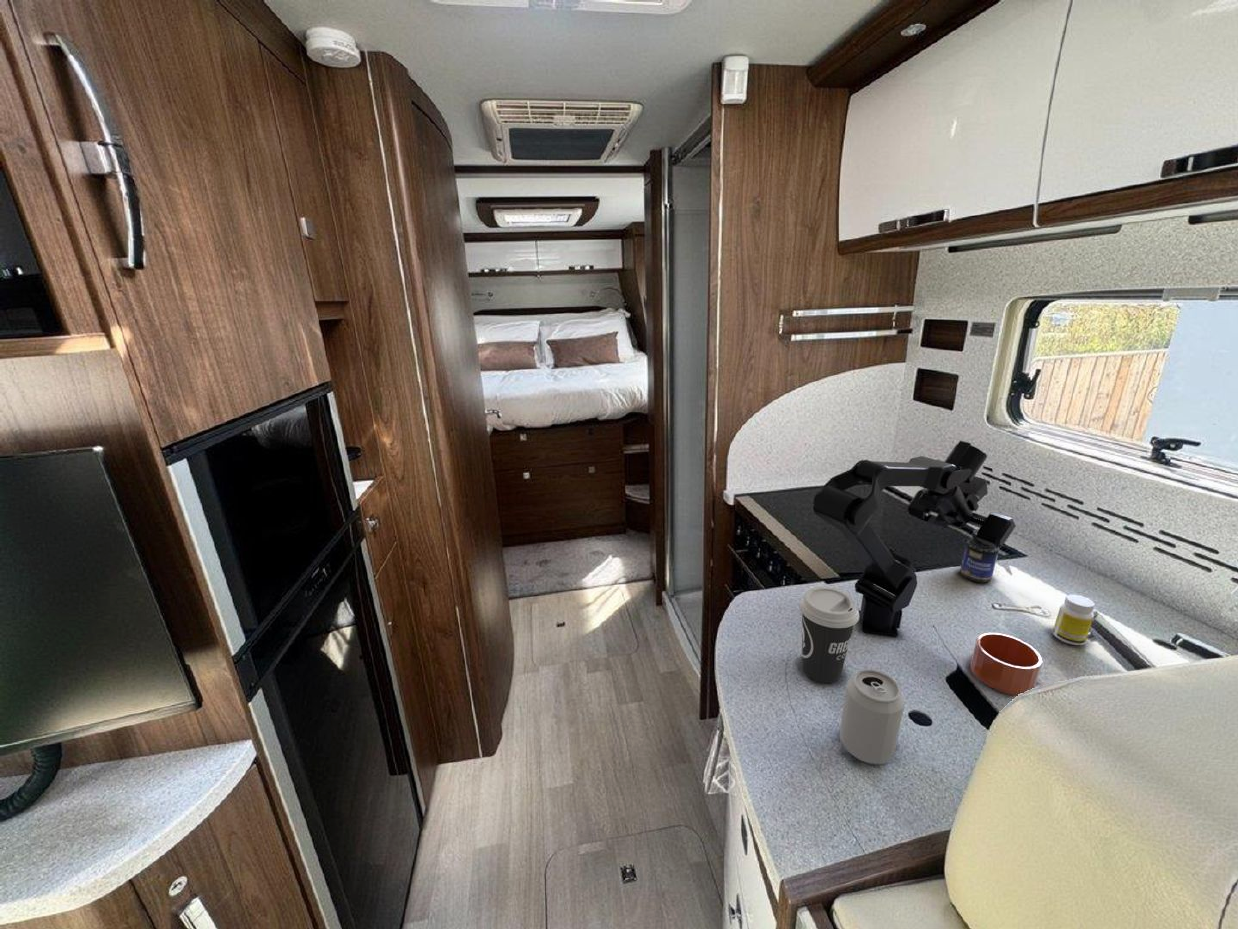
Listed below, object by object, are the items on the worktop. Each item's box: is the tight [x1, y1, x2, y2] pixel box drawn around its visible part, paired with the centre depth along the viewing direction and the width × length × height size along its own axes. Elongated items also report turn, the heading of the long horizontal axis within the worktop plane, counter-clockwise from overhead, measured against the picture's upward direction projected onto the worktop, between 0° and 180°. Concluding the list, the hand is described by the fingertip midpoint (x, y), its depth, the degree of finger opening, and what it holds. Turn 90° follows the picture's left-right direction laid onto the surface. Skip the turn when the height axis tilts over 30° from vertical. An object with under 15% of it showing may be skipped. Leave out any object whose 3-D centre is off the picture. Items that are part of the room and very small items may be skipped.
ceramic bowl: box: [970, 632, 1043, 696], centre depth 86 cm, size 9×9×6 cm
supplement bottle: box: [1052, 594, 1095, 646], centre depth 94 cm, size 5×5×8 cm
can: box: [839, 668, 906, 765], centre depth 73 cm, size 8×8×12 cm
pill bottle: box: [959, 528, 1000, 583], centre depth 114 cm, size 6×6×11 cm
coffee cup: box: [798, 586, 860, 685], centre depth 87 cm, size 10×10×15 cm
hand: (968, 534), depth 108 cm, fingers open, 9 cm apart
